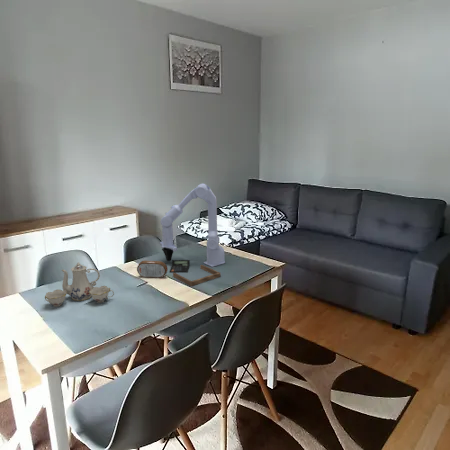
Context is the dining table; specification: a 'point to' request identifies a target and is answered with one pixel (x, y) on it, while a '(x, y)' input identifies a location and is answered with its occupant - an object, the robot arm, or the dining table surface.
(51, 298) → the chinaware
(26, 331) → the dining table surface
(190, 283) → the brown angled flat piece
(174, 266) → the calculator
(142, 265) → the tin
